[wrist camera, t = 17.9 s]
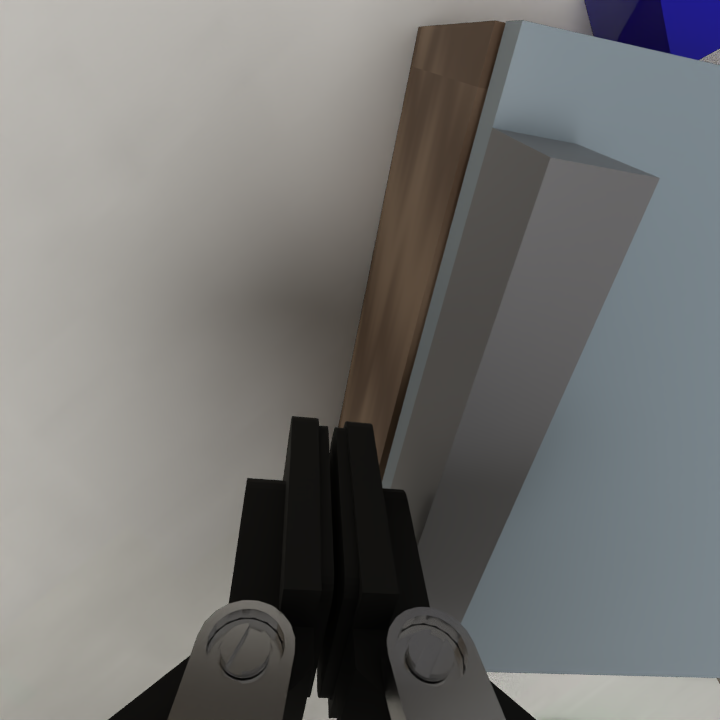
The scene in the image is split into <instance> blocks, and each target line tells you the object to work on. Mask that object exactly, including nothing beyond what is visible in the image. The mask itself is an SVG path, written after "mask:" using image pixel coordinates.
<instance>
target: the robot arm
mask: <svg viewBox="0 0 720 720" xmlns="http://www.w3.org/2000/svg"><path fill="white" fill-rule="evenodd" d="M316 669H317V692H318V698H328V709H329V718H337V720H536V719H535V718H533V717H532V716H531V715H530V714H529V713H528V712H526V711H525V710H524V709H523V708H522V707H520V706H519V705H518V704H517V703H516V702H515V701H513V700H512V699H511V698H510V697H509V696H507V695H506V694H505V693H504V692H503V691H502V690H500V689H499V688H498V687H497V686H496V685H494V684H493V683H492V682H491V681H490V680H489V678H488V675H487V673H486V670H485V668H484V665H483V663H482V661H481V658H480V656H479V653H478V651H477V649H476V646H475V644H474V642H473V640H472V638H471V637H470V635H469V633H468V632H467V630H466V629H465V628H464V627H463V626H462V625H461V624H460V623H459V622H458V621H457V620H456V619H455V618H453V617H451V616H450V615H448V614H447V613H445V612H443V611H440V610H437V609H434V608H430V605H429V600H428V595H427V590H426V586H425V581H424V576H423V571H422V566H421V562H420V557H419V552H418V547H417V542H416V537H415V533H414V528H413V523H412V518H411V513H410V509H409V504H408V499H407V496H406V493H405V491H404V490H401V489H387V488H382V481H381V475H380V468H379V462H378V456H377V449H376V443H375V437H374V430H373V425H372V424H371V423H360V422H349V421H346V422H345V424H344V427H343V428H338V427H335V428H334V432H333V437H332V442H331V448H330V453H329V433H328V426H319V420H318V418H307V417H296V416H292V419H291V425H290V433H289V440H288V448H287V455H286V463H285V470H284V477H283V481H280V480H266V479H252V478H247V484H246V490H245V497H244V504H243V510H242V517H241V524H240V531H239V538H238V545H237V551H236V558H235V565H234V572H233V579H232V585H231V592H230V599H229V604H227V605H226V606H224V607H222V608H220V609H218V610H217V611H215V612H214V613H213V614H212V615H211V616H210V617H209V618H208V619H207V620H206V621H205V622H204V624H203V626H202V628H201V630H200V632H199V633H198V635H197V638H196V641H195V644H194V646H193V649H192V652H191V655H190V656H189V657H188V658H186V659H185V660H184V661H183V662H181V663H180V664H179V665H177V666H176V667H175V668H174V669H172V670H171V671H170V672H168V673H167V674H166V675H165V676H163V677H162V678H161V679H160V680H158V681H157V682H156V683H154V684H153V685H152V686H151V687H149V688H148V689H147V690H145V691H144V692H143V693H142V694H140V695H139V696H138V697H137V698H135V699H134V700H133V701H131V702H130V703H129V704H128V705H126V706H125V707H124V708H122V709H121V710H120V711H119V712H117V713H116V714H115V715H114V716H112V717H111V718H110V719H108V720H302V718H303V713H304V709H305V704H306V700H307V697H310V695H311V691H312V686H313V682H314V678H315V673H316Z"/></svg>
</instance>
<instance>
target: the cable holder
mask: <svg viewBox="0 0 720 720" xmlns="http://www.w3.org/2000/svg"><path fill="white" fill-rule="evenodd" d="M584 1H585V5H586V9H587V12H588V16H589V20H590V24H591V28H592V32H593V36H594V37H598V38H603V39H607V40H611V41H616V42H620V43H625V44H629V45H633V46H638V47H642V48H646V49H651V50H655V51H660V52H664V53H668V54H673V55H677V56H681V57H686V58H690V59H695V60H700V59H701V58H703V57H705V56H707V55H709V54H711V53H712V52H714V51H716V50H718V49H720V0H584Z"/></svg>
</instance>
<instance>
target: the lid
mask: <svg viewBox="0 0 720 720" xmlns="http://www.w3.org/2000/svg"><path fill="white" fill-rule="evenodd" d="M382 488H387V489H401V490H404V491H405V493H406V496H407V499H408V504H409V509H410V513H411V518H412V523H413V528H414V533H415V537H416V542H417V547H418V552H419V557H420V562H421V566H422V571H423V576H424V581H425V586H426V590H427V595H428V600H429V605H430V608H434V609H437V610H440V611H443V612H445V613H447V614H448V615H450V616H451V617H453V618H455V619H456V620H457V621H458V622H459V623H460V624H461V625H462V626H463V627H464V628H465V629H466V630H467V632H468V633H469V635H470V637H471V638H472V640H473V642H474V644H475V646H476V649H477V651H478V653H479V656H480V658H481V661H482V663H483V665H484V668H485V670H486V672H507V673H546V674H584V675H623V676H662V677H701V678H720V65H716V64H712V63H708V62H703V61H699V60H695V59H690V58H686V57H681V56H677V55H673V54H668V53H664V52H660V51H655V50H651V49H646V48H642V47H638V46H633V45H629V44H625V43H620V42H616V41H611V40H607V39H603V38H598V37H594V36H589V35H585V34H581V33H576V32H572V31H568V30H563V29H559V28H554V27H550V26H546V25H541V24H537V23H533V22H528V21H524V20H519V21H506V24H505V28H504V31H503V35H502V39H501V43H500V46H499V50H498V54H497V57H496V61H495V65H494V68H493V72H492V76H491V80H490V83H489V87H488V91H487V94H486V98H485V102H484V106H483V109H482V113H481V117H480V120H479V124H478V128H477V132H476V135H475V139H474V143H473V146H472V150H471V154H470V158H469V161H468V165H467V169H466V172H465V176H464V180H463V183H462V187H461V191H460V195H459V198H458V202H457V206H456V209H455V213H454V217H453V221H452V224H451V228H450V232H449V235H448V239H447V243H446V247H445V250H444V254H443V258H442V261H441V265H440V269H439V273H438V276H437V280H436V284H435V287H434V291H433V295H432V299H431V302H430V306H429V310H428V313H427V317H426V321H425V324H424V328H423V332H422V336H421V339H420V343H419V347H418V350H417V354H416V358H415V362H414V365H413V369H412V373H411V376H410V380H409V384H408V388H407V391H406V395H405V399H404V402H403V406H402V410H401V414H400V417H399V421H398V425H397V428H396V432H395V436H394V439H393V443H392V447H391V451H390V454H389V458H388V462H387V465H386V469H385V473H384V477H383V480H382Z"/></svg>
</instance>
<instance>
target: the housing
mask: <svg viewBox="0 0 720 720" xmlns="http://www.w3.org/2000/svg"><path fill="white" fill-rule="evenodd" d="M505 24H506V23H504V22H499V21H485V22H472V23H460V24H447V25H435V26H422V27H419V28H418V33H417V38H416V43H415V48H414V53H413V58H412V63H411V68H410V73H409V78H408V83H407V88H406V93H405V98H404V103H403V108H402V113H401V118H400V123H399V128H398V133H397V138H396V143H395V148H394V152H393V157H392V162H391V167H390V172H389V177H388V182H387V187H386V192H385V197H384V202H383V207H382V212H381V217H380V222H379V227H378V232H377V237H376V242H375V247H374V252H373V257H372V262H371V267H370V272H369V277H368V282H367V287H366V292H365V297H364V302H363V307H362V312H361V317H360V322H359V327H358V332H357V336H356V341H355V346H354V351H353V356H352V361H351V366H350V371H349V376H348V381H347V386H346V391H345V396H344V401H343V406H342V411H341V416H340V421H339V426H338V428H343V427H344V424H345V422H346V421H349V422H360V423H371V424H372V425H373V430H374V437H375V443H376V449H377V456H378V462H379V468H380V475H381V481H382V480H383V477H384V473H385V469H386V465H387V462H388V458H389V454H390V451H391V447H392V443H393V439H394V436H395V432H396V428H397V425H398V421H399V417H400V414H401V410H402V406H403V402H404V399H405V395H406V391H407V388H408V384H409V380H410V376H411V373H412V369H413V365H414V362H415V358H416V354H417V350H418V347H419V343H420V339H421V336H422V332H423V328H424V324H425V321H426V317H427V313H428V310H429V306H430V302H431V299H432V295H433V291H434V287H435V284H436V280H437V276H438V273H439V269H440V265H441V261H442V258H443V254H444V250H445V247H446V243H447V239H448V235H449V232H450V228H451V224H452V221H453V217H454V213H455V209H456V206H457V202H458V198H459V195H460V191H461V187H462V183H463V180H464V176H465V172H466V169H467V165H468V161H469V158H470V154H471V150H472V146H473V143H474V139H475V135H476V132H477V128H478V124H479V120H480V117H481V113H482V109H483V106H484V102H485V98H486V94H487V91H488V87H489V83H490V80H491V76H492V72H493V68H494V65H495V61H496V57H497V54H498V50H499V46H500V43H501V39H502V35H503V31H504V28H505Z"/></svg>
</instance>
